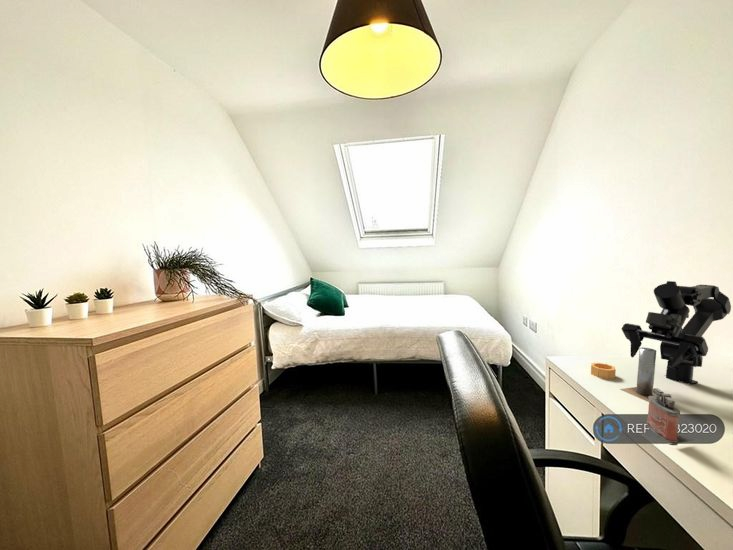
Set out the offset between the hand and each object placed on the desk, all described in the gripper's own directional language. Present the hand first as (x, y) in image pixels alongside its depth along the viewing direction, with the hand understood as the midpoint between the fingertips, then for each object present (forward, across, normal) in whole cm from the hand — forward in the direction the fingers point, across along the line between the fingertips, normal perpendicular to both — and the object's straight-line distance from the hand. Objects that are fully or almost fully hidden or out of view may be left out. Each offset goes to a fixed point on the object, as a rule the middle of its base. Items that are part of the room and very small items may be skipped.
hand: (650, 361), depth 95 cm
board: (+9, 0, +6) cm, 10 cm away
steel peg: (+8, 0, +5) cm, 9 cm away
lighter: (+23, +11, -8) cm, 27 cm away
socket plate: (+5, -13, +9) cm, 17 cm away
